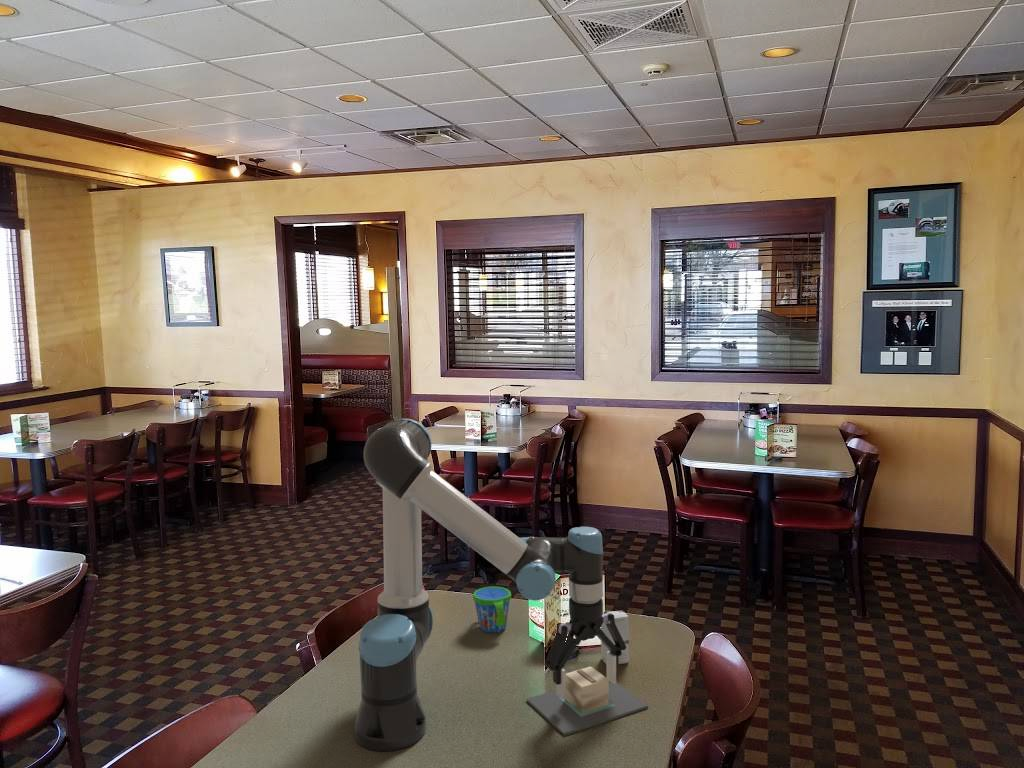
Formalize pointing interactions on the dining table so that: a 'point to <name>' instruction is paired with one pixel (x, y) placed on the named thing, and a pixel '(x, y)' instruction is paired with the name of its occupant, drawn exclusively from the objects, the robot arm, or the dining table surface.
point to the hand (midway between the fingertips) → (586, 688)
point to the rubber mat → (573, 720)
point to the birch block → (587, 689)
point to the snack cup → (492, 608)
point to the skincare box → (623, 629)
